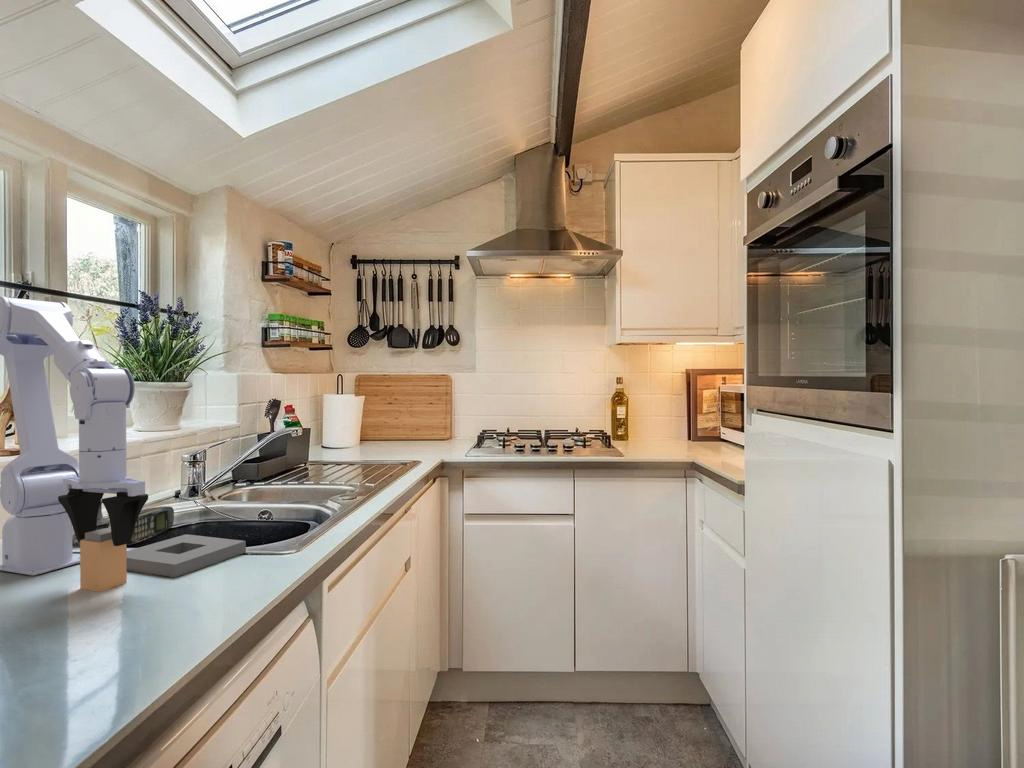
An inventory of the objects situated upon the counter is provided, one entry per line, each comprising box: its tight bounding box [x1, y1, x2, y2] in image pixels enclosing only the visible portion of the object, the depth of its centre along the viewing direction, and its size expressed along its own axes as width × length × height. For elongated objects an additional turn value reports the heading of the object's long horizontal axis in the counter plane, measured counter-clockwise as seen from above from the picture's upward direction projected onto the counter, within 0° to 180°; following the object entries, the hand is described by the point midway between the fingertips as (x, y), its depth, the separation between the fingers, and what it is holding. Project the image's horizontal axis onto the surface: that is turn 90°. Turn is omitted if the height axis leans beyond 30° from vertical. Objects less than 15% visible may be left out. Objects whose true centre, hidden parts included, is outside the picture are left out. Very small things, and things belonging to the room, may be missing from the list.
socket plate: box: [127, 534, 247, 578], centre depth 98 cm, size 14×14×2 cm
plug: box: [79, 527, 128, 593], centre depth 85 cm, size 4×4×8 cm
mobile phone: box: [126, 506, 175, 546], centre depth 114 cm, size 5×3×15 cm
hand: (103, 542), depth 85 cm, fingers open, 7 cm apart
